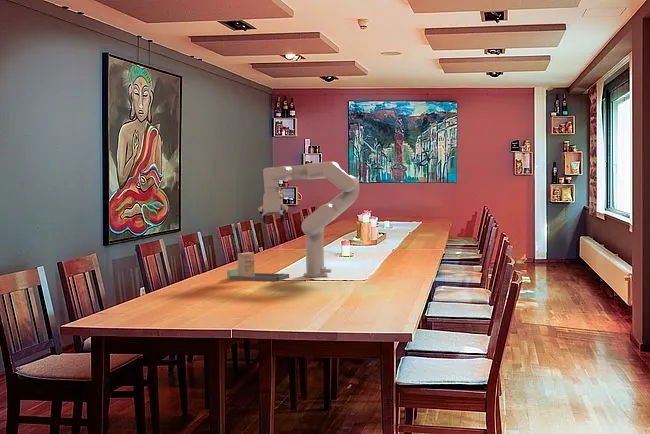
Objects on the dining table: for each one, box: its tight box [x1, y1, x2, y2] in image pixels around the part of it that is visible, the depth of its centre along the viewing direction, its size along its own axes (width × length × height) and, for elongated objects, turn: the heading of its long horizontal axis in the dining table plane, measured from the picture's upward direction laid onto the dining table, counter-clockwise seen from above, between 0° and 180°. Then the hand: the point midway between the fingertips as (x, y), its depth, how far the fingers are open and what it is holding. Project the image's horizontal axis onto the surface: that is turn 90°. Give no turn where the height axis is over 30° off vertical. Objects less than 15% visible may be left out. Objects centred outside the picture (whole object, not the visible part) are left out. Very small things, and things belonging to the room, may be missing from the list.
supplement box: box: [237, 251, 256, 276], centre depth 410 cm, size 8×5×13 cm, turn 144°
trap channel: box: [226, 266, 290, 282], centre depth 408 cm, size 30×13×5 cm, turn 68°
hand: (274, 222), depth 415 cm, fingers open, 9 cm apart
